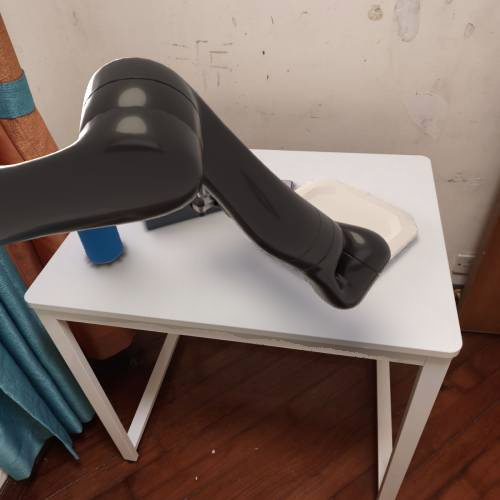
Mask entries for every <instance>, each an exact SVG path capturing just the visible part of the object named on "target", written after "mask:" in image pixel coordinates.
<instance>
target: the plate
mask: <svg viewBox="0 0 500 500" xmlns="http://www.w3.org/2000/svg"><path fill="white" fill-rule="evenodd" d="M294 191H295V192H296V193H297V194H298V195H300V196H301V197H302V198H304V199H305V200H307V201H308V202H309V203H311V204H312V205H313V206H315V207H316V208H318V209H319V210H320V211H322V212H323V213H324V214H326V215H327V216H328V217H330V218H331V219H332V220H334V221H338V222H342V223H346V224H351V225H356V226H360V227H363V228H367V229H369V230H372V231H374V232H376V233H378V234H379V235H380V236H382V237H383V238H384V239H385V241H386V242H387V244H388V245H389V248H390V251H391V258H390V261H392V260H393V258H395V257H397V255H398V254H399V253H400V252H401V251H402V250H403V249H404V248H405V247H406V246H408V245H409V244H410V243H411V242H412V241H413V240H414V239H415V238H416V237H417V236H418V235H419V233H420V232H419V229H418V226H417V223H416V221H415V218H414V216H413V215H412V214H411V213H410V212H409V211H406V210H405V209H403V208H400V207H398V206H396V205H394V204H391V203H390V202H387V201H386V200H383V199H380V198H378V197H377V196H375V195H372V194H371V193H368V192H366V191H364V190H361V189H359V188H357V187H355V186H353V185H351V184H348V183H347V182H345V181H342V180H340V179H338V178H319V179H318V178H317V179H315V178H314V179H311V180H309V181H307V182H305V183H304V184H302V185H301V186H300V187H298V188H296V189H294Z"/></svg>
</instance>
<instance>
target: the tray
mask: <svg viewBox="0 0 500 500" xmlns="http://www.w3.org/2000/svg"><path fill="white" fill-rule="evenodd" d="M205 191H206V193H207V194H209V192H208V191H207V190H206V189H205ZM220 211H223V210H222V209H221V208H218V207H214V206H212V207H210V208H209V209H207V210H206V215H208V214H212V213H215V212H220ZM198 217H199V216H198V215H197V214H195V213H194V212H192V211H191V210H189V209H188V208H186V207H185V206H184V207H183V208H181V209H179V210H177V211H175V212H172V213H170V214H167V215H165V216H161V217H158V218H154V219H150V220H145V221H144V223H145V227H146V229H147V231H151V230H154V229H157V228H161V227H165V226H168V225H173V224H175V223H179V222H183V221H187V220H190V219H194V218H198Z"/></svg>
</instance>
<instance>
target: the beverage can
mask: <svg viewBox="0 0 500 500" xmlns="http://www.w3.org/2000/svg"><path fill="white" fill-rule="evenodd" d="M76 234H77V235H78V237H79V240H80V242H81V245H82V247H83V249H84V252H85V254H86V257H87V258H88V260H90V262H92V263H95V264H107V263H111V262H113V261H115V260H116V259H118V258H119V257H120V256H121V254H122V253H123V251H124V244H123V242H122V239H121V236H120V233H119V229H118V227H117V225H116V226H109V227H102V228H95V229H89V230H82V231H76Z"/></svg>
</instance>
